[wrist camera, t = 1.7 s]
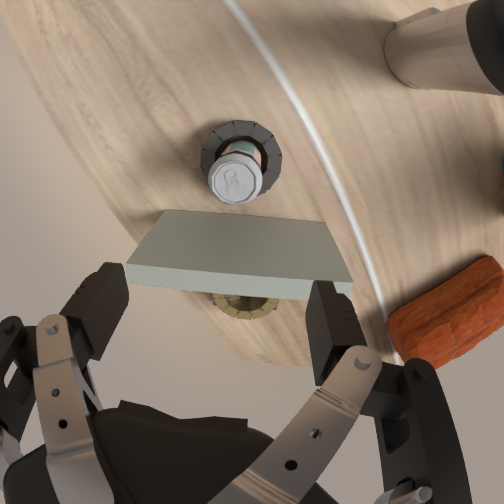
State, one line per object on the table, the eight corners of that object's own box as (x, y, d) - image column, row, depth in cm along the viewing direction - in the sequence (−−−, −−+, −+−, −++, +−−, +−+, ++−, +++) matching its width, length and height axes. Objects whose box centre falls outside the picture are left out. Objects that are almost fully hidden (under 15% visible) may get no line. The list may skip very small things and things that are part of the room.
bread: (380, 312, 46) (399, 355, 37) (491, 244, 39) (522, 275, 30) (396, 354, 53) (410, 392, 44) (491, 297, 45) (514, 327, 36)
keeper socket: (214, 246, 40) (210, 261, 37) (284, 252, 40) (287, 267, 37) (214, 300, 45) (210, 317, 42) (275, 305, 45) (276, 322, 42)
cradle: (206, 119, 31) (202, 120, 29) (283, 124, 32) (285, 125, 29) (203, 190, 36) (200, 196, 34) (275, 195, 36) (276, 202, 34)
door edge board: (166, 209, 38) (125, 263, 25) (325, 222, 38) (353, 282, 26) (166, 225, 39) (129, 283, 27) (322, 238, 39) (347, 302, 27)
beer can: (230, 180, 35) (217, 215, 25) (217, 146, 33) (197, 166, 23) (266, 169, 35) (269, 200, 24) (254, 133, 32) (252, 148, 22)
